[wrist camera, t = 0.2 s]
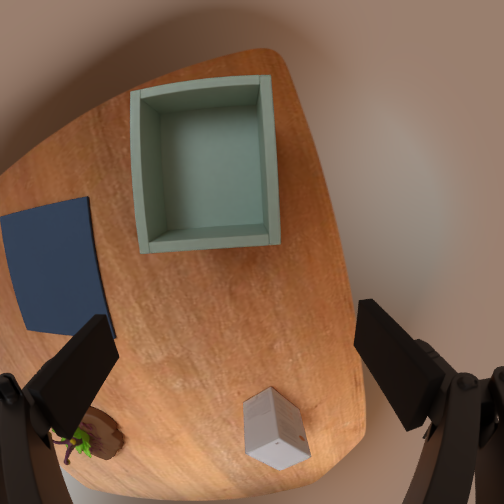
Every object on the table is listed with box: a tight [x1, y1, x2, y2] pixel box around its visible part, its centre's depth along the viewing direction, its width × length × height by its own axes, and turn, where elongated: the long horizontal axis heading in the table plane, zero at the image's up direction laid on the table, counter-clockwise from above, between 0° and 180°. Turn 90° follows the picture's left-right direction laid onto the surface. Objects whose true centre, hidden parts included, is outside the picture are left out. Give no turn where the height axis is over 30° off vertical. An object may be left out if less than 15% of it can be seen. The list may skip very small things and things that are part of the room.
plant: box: [49, 407, 124, 465], centre depth 35 cm, size 20×20×11 cm
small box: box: [243, 387, 311, 471], centre depth 33 cm, size 8×6×10 cm
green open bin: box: [130, 75, 281, 254], centre depth 20 cm, size 12×10×6 cm
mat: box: [0, 196, 116, 339], centre depth 32 cm, size 20×20×1 cm
